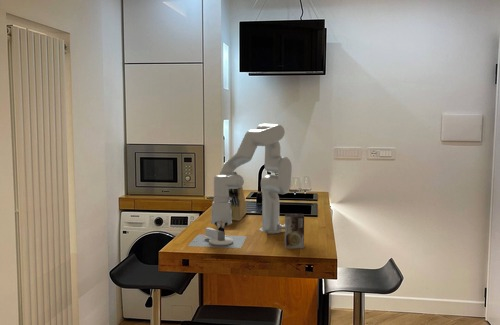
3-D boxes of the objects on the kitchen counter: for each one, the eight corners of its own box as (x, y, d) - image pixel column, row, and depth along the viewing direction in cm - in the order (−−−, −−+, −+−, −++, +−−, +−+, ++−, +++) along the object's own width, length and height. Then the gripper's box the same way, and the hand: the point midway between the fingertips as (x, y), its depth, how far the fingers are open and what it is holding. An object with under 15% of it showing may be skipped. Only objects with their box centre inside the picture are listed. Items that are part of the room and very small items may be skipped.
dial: (238, 242, 251) (238, 232, 250) (218, 246, 243) (218, 236, 243) (216, 235, 265) (216, 226, 264) (197, 239, 257) (197, 229, 256)
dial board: (246, 239, 265) (246, 235, 265) (240, 251, 242) (240, 247, 241) (198, 237, 268) (198, 234, 268) (187, 249, 244) (187, 245, 244)
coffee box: (302, 245, 254) (303, 213, 252) (304, 248, 248) (304, 216, 246) (284, 245, 254) (284, 213, 252) (285, 248, 247) (286, 215, 246)
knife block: (218, 223, 301) (218, 172, 298) (230, 212, 336) (230, 166, 333) (237, 224, 299) (237, 172, 296) (247, 213, 334) (247, 166, 331)
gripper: (237, 198, 258) (236, 234, 260) (208, 197, 260) (208, 233, 262) (234, 201, 251) (234, 237, 253) (205, 200, 253) (205, 236, 255)
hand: (221, 235), depth 257 cm, fingers closed
